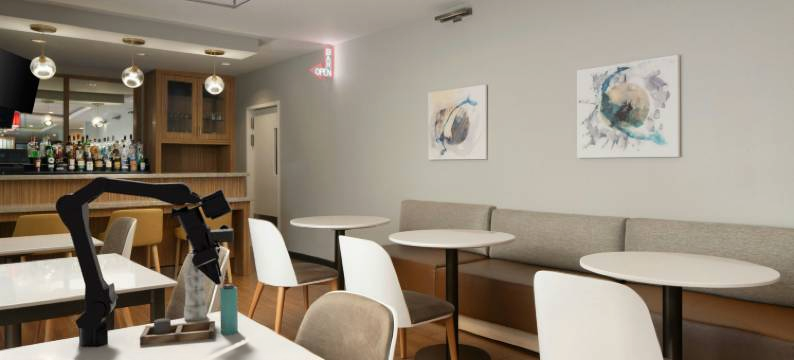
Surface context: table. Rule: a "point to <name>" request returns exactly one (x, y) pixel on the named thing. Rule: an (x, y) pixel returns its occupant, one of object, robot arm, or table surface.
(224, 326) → the teal rounded cylinder
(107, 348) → the table surface
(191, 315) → the plastic bottle
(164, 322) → the dark gray rounded cylinder
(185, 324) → the tray
